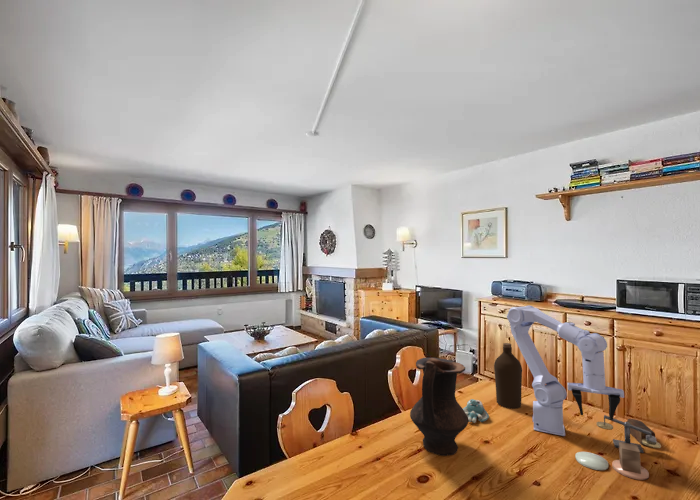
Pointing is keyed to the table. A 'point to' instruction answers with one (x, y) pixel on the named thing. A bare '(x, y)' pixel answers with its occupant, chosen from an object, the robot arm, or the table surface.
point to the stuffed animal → (475, 411)
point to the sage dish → (591, 461)
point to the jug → (439, 406)
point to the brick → (638, 434)
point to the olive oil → (508, 378)
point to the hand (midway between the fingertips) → (596, 416)
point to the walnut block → (629, 457)
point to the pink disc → (618, 468)
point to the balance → (648, 441)
